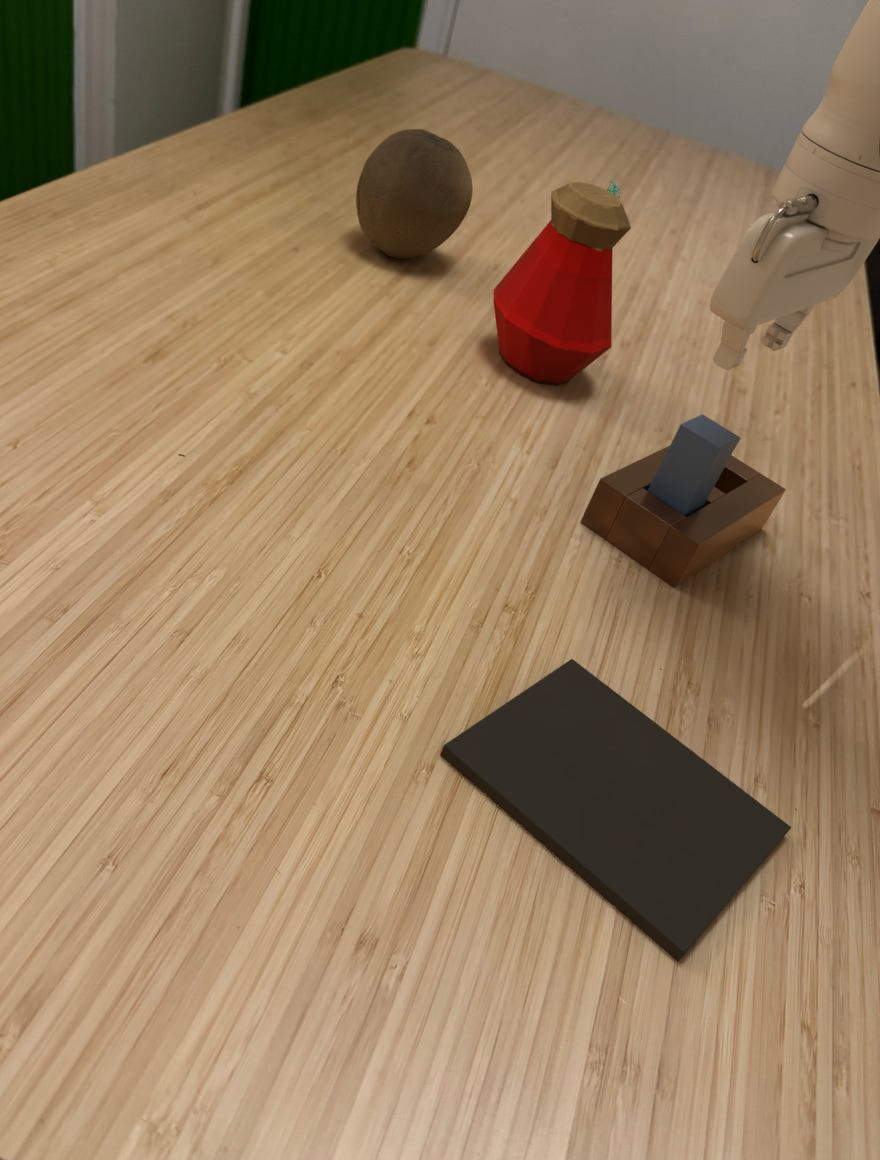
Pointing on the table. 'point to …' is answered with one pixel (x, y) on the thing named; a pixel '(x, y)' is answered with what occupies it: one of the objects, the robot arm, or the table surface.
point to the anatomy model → (613, 189)
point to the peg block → (679, 517)
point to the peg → (693, 464)
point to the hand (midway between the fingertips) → (748, 355)
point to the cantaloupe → (413, 193)
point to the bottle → (562, 288)
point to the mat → (620, 802)
